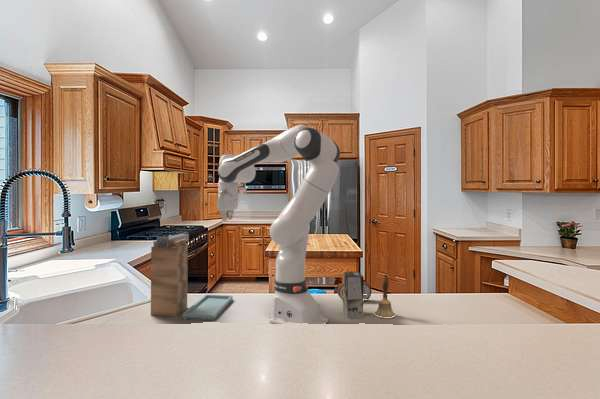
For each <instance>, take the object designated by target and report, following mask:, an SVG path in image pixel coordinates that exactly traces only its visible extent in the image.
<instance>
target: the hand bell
mask: <svg viewBox="0 0 600 399" xmlns="http://www.w3.org/2000/svg"><path fill="white" fill-rule="evenodd" d="M389 285H390V280H389V277H388V274H387V273H386V274H383V277H382V280H381V287H382V291H383V292H382V299H381V300H378V307H377V309H376V310H375V311H374V313H375V314H376V315H378V316H382V317H392V316H394V315H396V313H395V312H394V311H393V309H392V302H391V301H390V300H389V299H388V289H389Z"/></svg>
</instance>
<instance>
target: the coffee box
mask: <svg viewBox="0 0 600 399" xmlns="http://www.w3.org/2000/svg"><path fill="white" fill-rule="evenodd" d="M364 279H365V278H364V275H362V274H361V273H360V272H359V271H344V272H343V282H344V286H343V300H342V305H343V306H342V312H343V311H344V312H343V314H344V315H345V317H346V319H348V318H350V319H363V318H364V301H363V287H364V282H365V281H364Z"/></svg>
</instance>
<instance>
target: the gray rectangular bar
mask: <svg viewBox="0 0 600 399" xmlns="http://www.w3.org/2000/svg"><path fill="white" fill-rule="evenodd" d="M183 239H186V242H188V241H189V240H190V234H189V233H177V234H175V235H171V236H156V240H157V246H156V248H169V247H171V246H174V245H175V242H176V241H179V240H183Z"/></svg>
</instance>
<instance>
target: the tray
mask: <svg viewBox="0 0 600 399" xmlns="http://www.w3.org/2000/svg"><path fill="white" fill-rule="evenodd" d="M232 301H233V295H225V294H223V295H222V294H204V295H203V296H202V297H201V298H199V299H198V300H197V301H196V302H195V303H194V304H192V305H191V306H190V307H188V309H187V308H186V309H185V310H184V312H182V317H181V318H182V320H194V319H204V320H203V321H213V320H214V321H215V320H216V319H217V318H218V317H219V316H220V314H221V313H222V312H224V310H225V309H226V308H227V307H228V306H229V305H230V304H231V303H232ZM184 318H186V319H184Z"/></svg>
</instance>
